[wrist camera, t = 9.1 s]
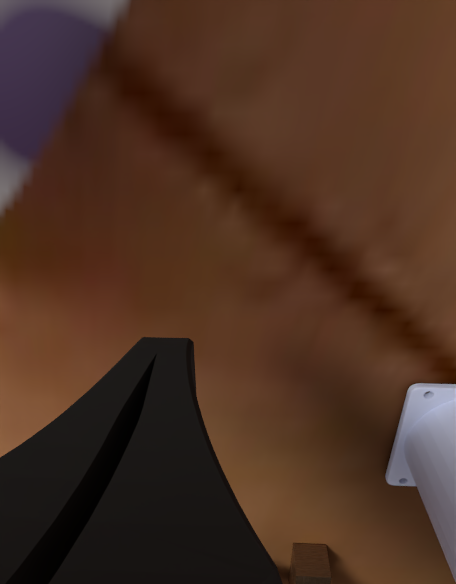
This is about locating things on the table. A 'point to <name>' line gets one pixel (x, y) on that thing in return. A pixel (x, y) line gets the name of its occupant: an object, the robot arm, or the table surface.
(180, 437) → the robot arm
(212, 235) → the table surface
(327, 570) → the shaft
